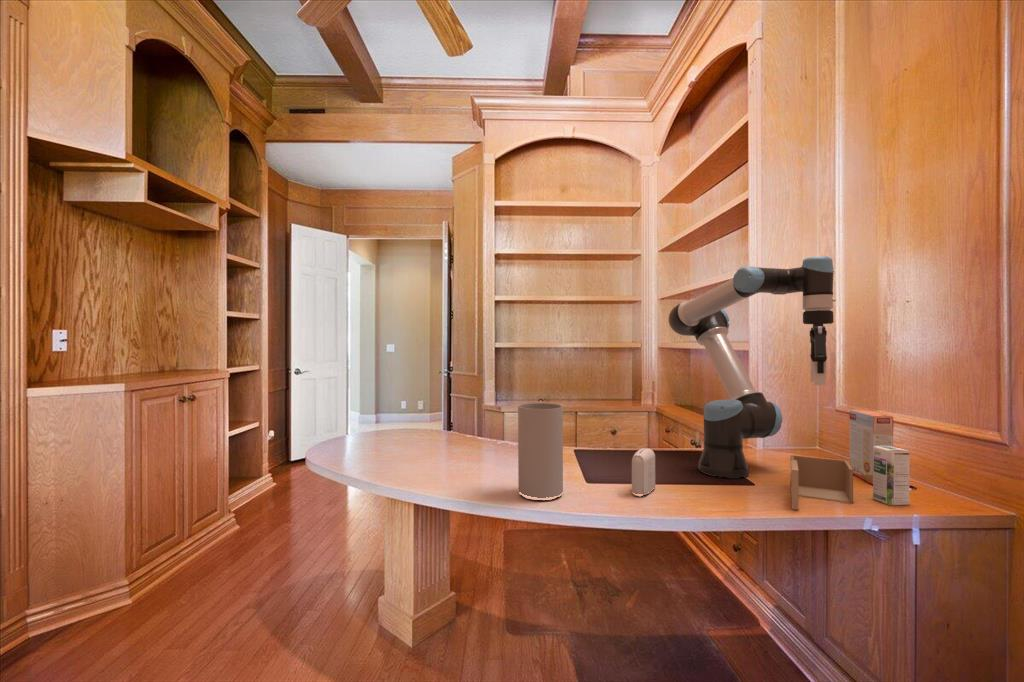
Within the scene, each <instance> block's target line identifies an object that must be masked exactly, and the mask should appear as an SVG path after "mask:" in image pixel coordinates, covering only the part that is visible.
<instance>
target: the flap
mask: <svg viewBox="0 0 1024 682" xmlns="http://www.w3.org/2000/svg"><path fill="white" fill-rule="evenodd" d="M790 490H791V492H790V495H791V496H790V497H791V509H792V510H796V511H797V510H798V511H799V505H800V504H799V503H800V502H799V497H800V496H799V482H798V464H797V460H791V459H790Z"/></svg>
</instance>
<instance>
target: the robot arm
mask: <svg viewBox="0 0 1024 682" xmlns="http://www.w3.org/2000/svg"><path fill="white" fill-rule="evenodd" d="M834 273H835V270H834V262H833V258H831V257H830V256H826V255H825V256H824V255H820V256H812V257H806V258H804V259H803V260H802V264H801V266H798V267H794V268H793V267H791V268H776V267H773V268H772V267H760V266H759V267H757V266H743V267H740V268H739V269H737V270H736V272H735V273H734V275H733V278H730V279H729V280H727V281H725V282H724V283H721V284H720V285H718V286H715V287H714V288H712V289H710V290H709V291H707V292H705V293H703V294H701V295H699V296H698V297H696V298H694V299H691V300H690V301H689V300H685V301H682V302H680V303H679V304H677V305H676V306H673V308H672V309H671V310H670V312H669V314H668V324H669V326H670V328H671V329H672V330H673V331H674V332H675V333H676V334H677V335H681V336H687V337H688V336H690V337H691V336H693V337H694V338H695V339H696V342H697V344H699V345H700V346H703V347H704V348H705V350H706V352H707V354H708V356H709V359H710V360H711V362H712V365H713V367H714V368H715V370H716V372H717V375H718V376H719V379H720V380H721V383H722V384H723V387H724V389H725V390H726V393H727V395H728V397H729V398H727V399H717V400H715V399H714V400H711V401H709V402H707V403H705V405H704V408H703V414H702V415H703V416H702V418H703V448H702V449H703V450H702V452H701V455H700V458H699V461H698V465H697V466H698V467H697V469H699V470H700V471H703V472H705V473H708V474H711V475H716V476H721V477H733V478H732V479H741V478H740V477H744V478H747V477H749V473H750V471H749V469H750V468H749V466H748V461H747V459H746V456H745V453H744V450H743V445H744V444H743V443H744V442H743V440H747V439H759V438H760V439H765V438H768V437H773V436H775V435H776V434H778V432H779V431H780V429H781V428H782V423H783V414H782V410H781V408H780V407H779V406H778V405H777V403H774V402H771V401H767V399H766V397H765V396H764V393H763V392H762V391H758V390H756V388H755V387H754V384H753V383H752V381H751V379H750V377H749V375H748V374H747V372H746V370H745V367H744V366H743V364H742V363H741V360H740V358H739V356H738V355H737V353H736V351H735V349H734V347H733V345H732V344H731V343H732V342H730V340H729V338H728V333H729V328H730V323H729V322H730V317H729V315H728V313H727V311H726V310H725V309H726V308H728V307H730V306H733V305H734V304H737V303H738V302H741V301H742V300H745V299H747V298H750V297H752V296H754V295H756V294H759V293H765V294H772V295H778V296H779V295H782V296H783V295H787V294H793V293H794V294H795V293H802V310H804V311H803V312H802V323H803V324H804V325H812V327H811V328H810V330H809V342H810V354H809V356H810V382H814V386H827V362H826V361H827V359H828V356H827V332H828V331H827V330H826V326H824V325H829V324H830V325H831V324H834V311H833V310H832V309H834V302H836V301H837V299H836V298H834V292H833V290H834ZM699 470H698V471H699ZM700 471H699V472H700ZM721 477H720V478H721Z"/></svg>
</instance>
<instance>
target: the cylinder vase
mask: <svg viewBox="0 0 1024 682" xmlns="http://www.w3.org/2000/svg"><path fill="white" fill-rule="evenodd" d="M563 410H564V408H563V405H562V404H558V403H557V404H556V403H548V402H546V403H545V402H544V403H543V402H537V403H536V402H534V403H533V402H532V403H522V404H519V405H518V406H517V412H518V413H517V417H518V418H517V421H518V422H517V425H518V426H517V428H518V429H517V430H518V433H517V437H518V440H517V441H518V442H517V446H518V447H517V452H518V453H517V454H518V457H517V459H518V463H517V464H518V468H517V469H518V480H517V481H518V483H517V484H518V489H517V490H519V492H521V493H522V494H524V495H527V496H531V497H537V498H546V497H548V498H549V497H554V496H558V495H560V494H561V493H562V492H563V493H564V476H563V475H564V458H563V457H564V447H563V446H564V439H563V438H564V437H563V436H564V430H563V429H564V428H563V427H564V421H563V420H564V418H563V413H564V411H563ZM519 492H518V493H519Z"/></svg>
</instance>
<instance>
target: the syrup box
mask: <svg viewBox="0 0 1024 682" xmlns="http://www.w3.org/2000/svg"><path fill="white" fill-rule="evenodd" d="M910 454H911V453H910V450H907V449H903V448H899V447H894V446H893V447H892V446H874V447H873V485H872V499H873V500H876V501H878V502H881V503H882V504H886V505H888V506H909V505H910V480H911V479H910V466H911V465H910V460H911V459H910V456H911V455H910Z"/></svg>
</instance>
